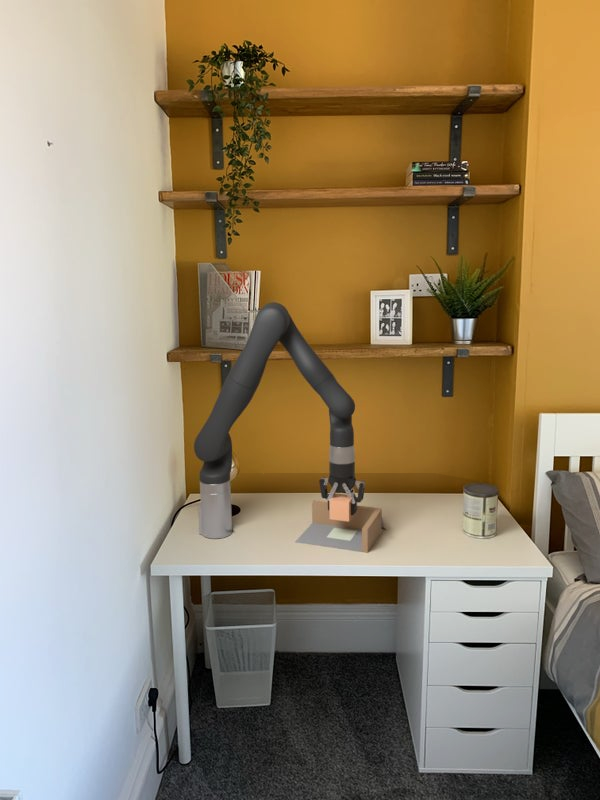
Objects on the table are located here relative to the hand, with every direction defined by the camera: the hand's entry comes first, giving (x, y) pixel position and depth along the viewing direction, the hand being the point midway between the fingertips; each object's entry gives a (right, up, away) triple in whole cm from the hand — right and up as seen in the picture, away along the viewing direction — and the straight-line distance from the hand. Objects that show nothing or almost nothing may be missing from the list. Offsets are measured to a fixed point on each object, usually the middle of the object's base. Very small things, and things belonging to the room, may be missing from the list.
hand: (342, 512), depth 186 cm
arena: (-1, -8, 0) cm, 8 cm away
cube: (0, -1, 0) cm, 1 cm away
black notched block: (+11, -6, +12) cm, 17 cm away
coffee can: (+42, -7, +4) cm, 43 cm away
